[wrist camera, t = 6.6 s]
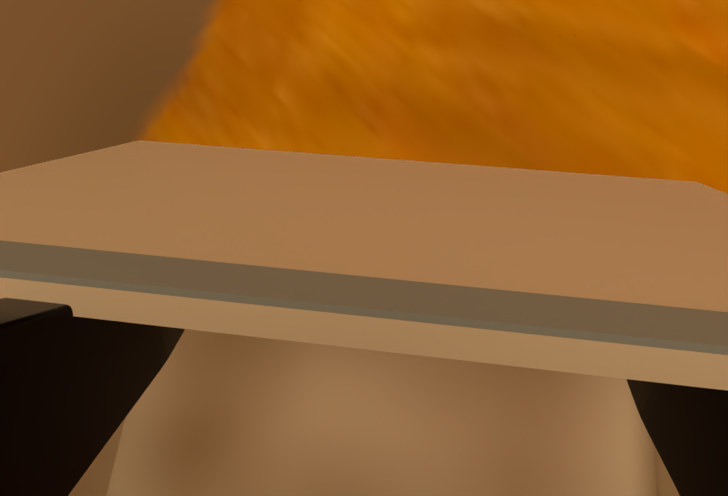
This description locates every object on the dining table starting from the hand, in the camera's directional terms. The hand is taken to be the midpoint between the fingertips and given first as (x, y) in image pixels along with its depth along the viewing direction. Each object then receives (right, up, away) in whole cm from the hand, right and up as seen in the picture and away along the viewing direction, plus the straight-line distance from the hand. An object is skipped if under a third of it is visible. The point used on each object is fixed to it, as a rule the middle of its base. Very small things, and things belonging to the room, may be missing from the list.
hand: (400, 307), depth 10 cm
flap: (0, +2, +2) cm, 3 cm away
